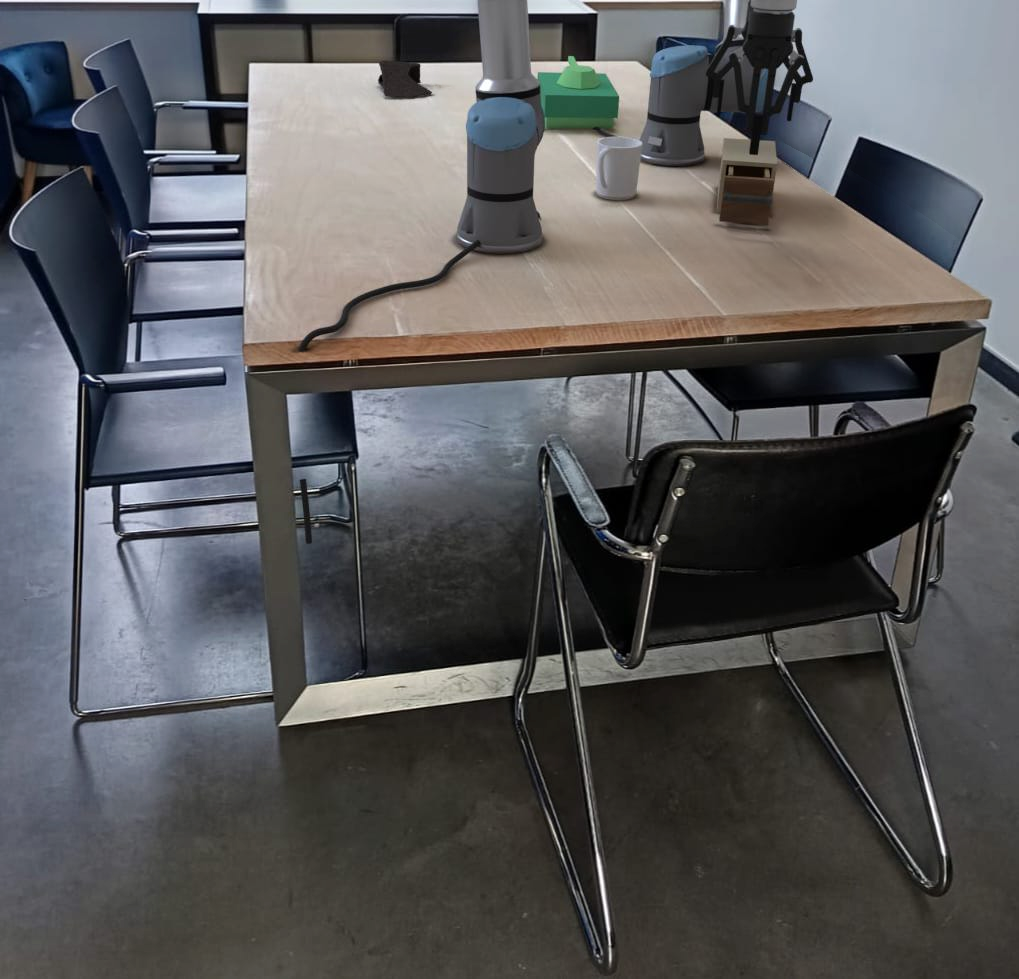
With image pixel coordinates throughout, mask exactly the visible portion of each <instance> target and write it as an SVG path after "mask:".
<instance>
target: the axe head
mask: <svg viewBox="0 0 1019 979" xmlns="http://www.w3.org/2000/svg"><path fill="white" fill-rule="evenodd" d="M378 66H379V68H380V72H381V74H379V75H378V79H377V84H378V85H379V86H380V87H381V88H382V89H383V95H384V96H385V97H388V98H394V99H395V98H396V99H403V98H405V99H406V98H407V99H411V98H418V97H425V96H429V95H432V94H433V91H431V90H430V89H428V88H427V87H425V86H422V85H421V84H422V82H421V63H419V62H410V61H408V62H407V61H397V60H388V59H387V60H380V61H379V62H378Z"/></svg>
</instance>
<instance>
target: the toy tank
mask: <svg viewBox="0 0 1019 979" xmlns="http://www.w3.org/2000/svg"><path fill="white" fill-rule="evenodd" d="M567 63H568V65H567V66H566V67H564V69H563V70H562V72H551V71H549V72H548V71H547V72H545V71H544V72H543V71H542V72H541V71H537V76H536V77H537V79H538V80H539V81H540V92H541V107H542V109H543V113H544V115H545V130H547V129H548V130H593V128H595V127H598V128H600V129H601V130H613V129H614V126H615V119H619V107H620V95H619V94H618V91H617V90H616V88H615V87H614V85H613V84H612V81H611V80H610V78H609V77H608V75H607V74H606V73H601V72H600V73H599V72H598V73H597V72H596V70H595V68H593V67H591V66H589V65H580V64H578V62H577V61H576V58H575V56H573V55H568V56H567Z"/></svg>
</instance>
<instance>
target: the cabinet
mask: <svg viewBox="0 0 1019 979" xmlns="http://www.w3.org/2000/svg"><path fill="white" fill-rule="evenodd" d="M750 141H751V139H746V138H745V139H743V138H728V137H724V138H723V145H722V153H721V161H720V169H719V176H718V184H717V185H718V186H717V197H716V213H718V214H720V211H721V203H722V195H723V187H724V179H725V175H726V176H727V173H728V165H740V166H754V167H769V172H770V179H774V184H775V182H776V175H777V168H778V158H777V146H776V141H775V140H761V139H760V143H759V150H758V155H749V149H750ZM774 189H775V186H774V187H773V191H774ZM772 197H773V198H774V193H773V194H772ZM771 209H772V207H771V208H770V211H772V210H771ZM770 215H771V214H770ZM770 215H769V217H771V216H770Z"/></svg>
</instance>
